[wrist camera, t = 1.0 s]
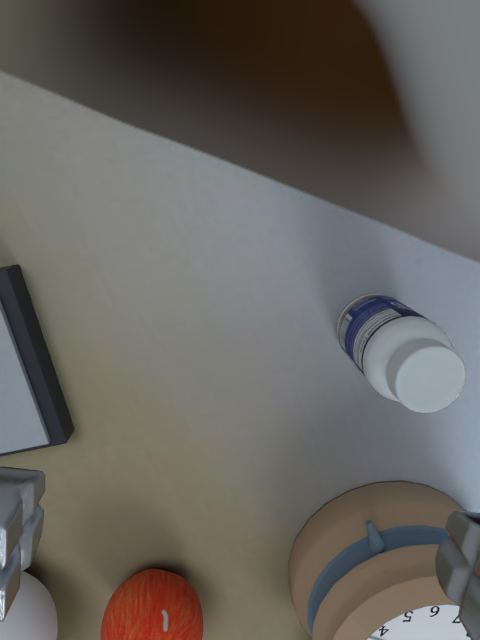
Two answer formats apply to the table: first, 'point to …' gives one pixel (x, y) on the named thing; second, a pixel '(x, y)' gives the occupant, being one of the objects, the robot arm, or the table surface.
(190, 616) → the apple
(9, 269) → the kitchen scale
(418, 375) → the pill bottle
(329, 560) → the alarm clock
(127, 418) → the table surface
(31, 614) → the ornament
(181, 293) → the table surface
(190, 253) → the table surface
